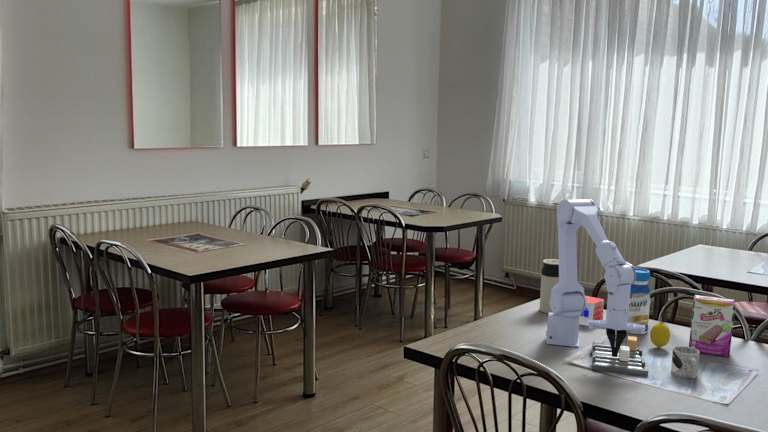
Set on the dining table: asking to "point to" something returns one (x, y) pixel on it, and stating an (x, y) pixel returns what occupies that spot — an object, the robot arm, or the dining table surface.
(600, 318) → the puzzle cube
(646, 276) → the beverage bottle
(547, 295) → the travel mug
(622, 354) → the block
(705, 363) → the dining table surface
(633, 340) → the block
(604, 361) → the console
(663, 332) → the lemon
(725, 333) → the candy bar box
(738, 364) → the dining table surface
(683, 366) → the mug
